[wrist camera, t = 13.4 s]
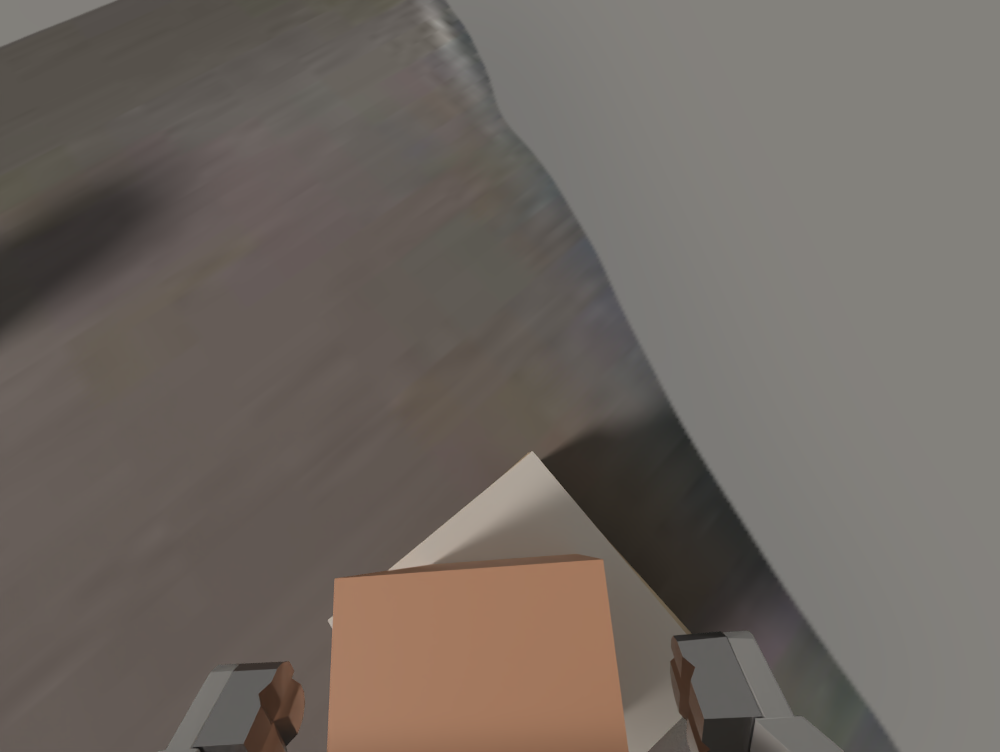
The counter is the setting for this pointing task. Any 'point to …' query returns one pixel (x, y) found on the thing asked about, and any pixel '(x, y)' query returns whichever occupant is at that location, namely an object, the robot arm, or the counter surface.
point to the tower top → (561, 531)
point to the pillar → (476, 659)
